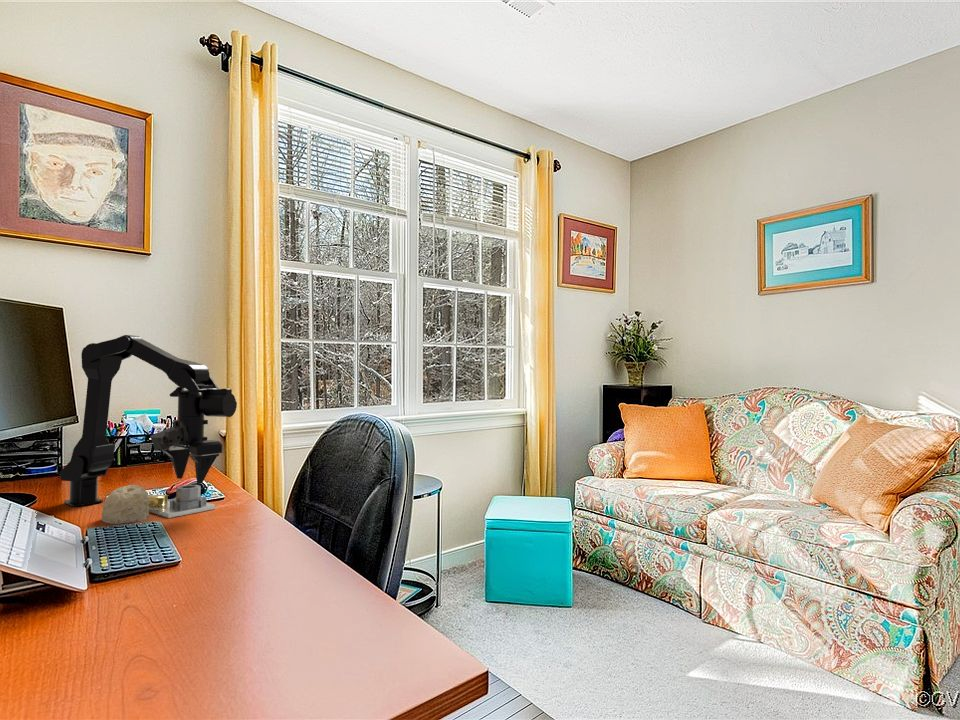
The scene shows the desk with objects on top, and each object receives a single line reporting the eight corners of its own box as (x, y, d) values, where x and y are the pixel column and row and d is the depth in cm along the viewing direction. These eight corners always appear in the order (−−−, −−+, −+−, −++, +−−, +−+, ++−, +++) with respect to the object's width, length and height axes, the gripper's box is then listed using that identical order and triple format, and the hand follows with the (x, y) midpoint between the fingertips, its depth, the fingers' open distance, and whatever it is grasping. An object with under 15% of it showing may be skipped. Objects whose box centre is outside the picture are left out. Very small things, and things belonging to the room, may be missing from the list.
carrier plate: (138, 509, 137) (138, 490, 137) (186, 500, 146) (187, 483, 146) (165, 518, 129) (166, 498, 129) (214, 508, 139) (215, 490, 139)
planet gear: (164, 506, 137) (164, 487, 137) (195, 500, 143) (195, 482, 143) (180, 511, 132) (180, 491, 132) (211, 505, 138) (212, 486, 139)
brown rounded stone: (149, 535, 130) (166, 494, 136) (125, 520, 122) (144, 477, 128) (111, 533, 131) (130, 492, 137) (84, 518, 123) (106, 475, 129)
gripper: (137, 415, 137) (135, 481, 136) (177, 420, 126) (175, 491, 126) (183, 413, 146) (182, 474, 145) (224, 417, 135) (223, 483, 135)
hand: (189, 480), depth 138 cm, fingers open, 9 cm apart
